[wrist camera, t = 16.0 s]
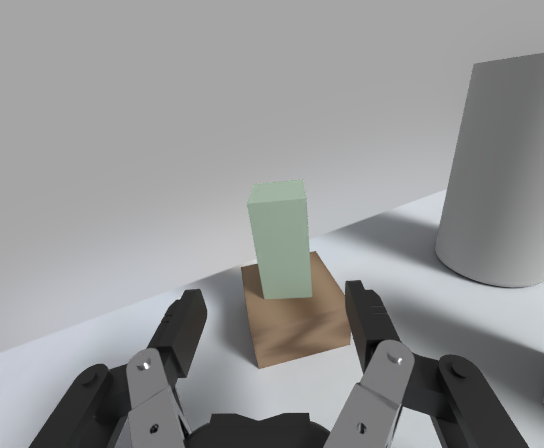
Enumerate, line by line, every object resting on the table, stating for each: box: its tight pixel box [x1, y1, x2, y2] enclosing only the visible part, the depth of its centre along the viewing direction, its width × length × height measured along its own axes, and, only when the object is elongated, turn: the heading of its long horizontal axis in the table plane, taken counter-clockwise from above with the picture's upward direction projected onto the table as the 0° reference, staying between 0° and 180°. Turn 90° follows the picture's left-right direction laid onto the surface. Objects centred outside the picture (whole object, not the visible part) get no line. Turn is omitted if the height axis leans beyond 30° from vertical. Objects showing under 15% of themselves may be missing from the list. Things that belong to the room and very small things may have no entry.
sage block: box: [247, 180, 312, 299], centre depth 25 cm, size 5×5×11 cm
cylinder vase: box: [435, 53, 544, 287], centre depth 30 cm, size 12×12×25 cm
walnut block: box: [241, 251, 351, 369], centre depth 29 cm, size 10×10×6 cm
